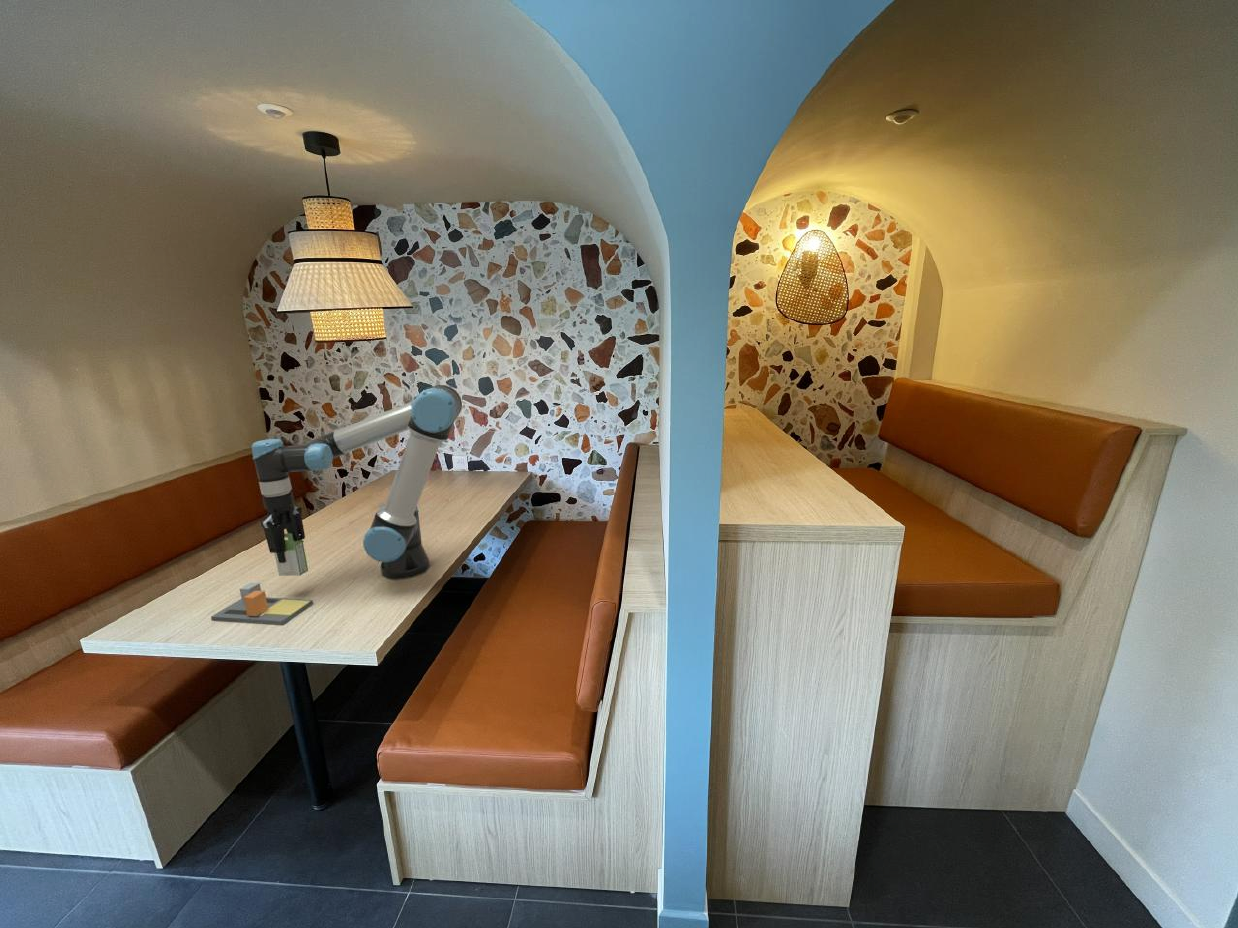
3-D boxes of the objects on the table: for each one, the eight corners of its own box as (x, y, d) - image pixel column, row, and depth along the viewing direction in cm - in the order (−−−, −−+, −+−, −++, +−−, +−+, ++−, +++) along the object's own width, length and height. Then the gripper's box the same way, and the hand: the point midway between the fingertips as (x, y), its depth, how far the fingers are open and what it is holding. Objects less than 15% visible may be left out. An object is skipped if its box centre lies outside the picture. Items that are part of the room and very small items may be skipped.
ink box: (309, 570, 164) (300, 528, 160) (300, 576, 160) (291, 533, 156) (288, 570, 164) (278, 528, 161) (278, 576, 161) (269, 533, 157)
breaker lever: (258, 608, 153) (255, 590, 152) (268, 608, 153) (264, 591, 151) (247, 615, 149) (243, 597, 148) (256, 616, 149) (253, 597, 148)
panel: (246, 599, 162) (243, 582, 160) (313, 603, 159) (310, 585, 157) (211, 620, 150) (207, 601, 149) (282, 625, 147) (279, 606, 146)
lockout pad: (282, 599, 159) (282, 599, 159) (310, 601, 157) (310, 600, 157) (261, 613, 151) (261, 613, 151) (290, 615, 150) (290, 614, 150)
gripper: (287, 484, 165) (302, 556, 170) (241, 502, 148) (259, 580, 154) (309, 484, 164) (323, 556, 169) (265, 502, 147) (283, 581, 153)
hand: (293, 567), depth 162 cm, fingers closed on ink box, 4 cm apart
